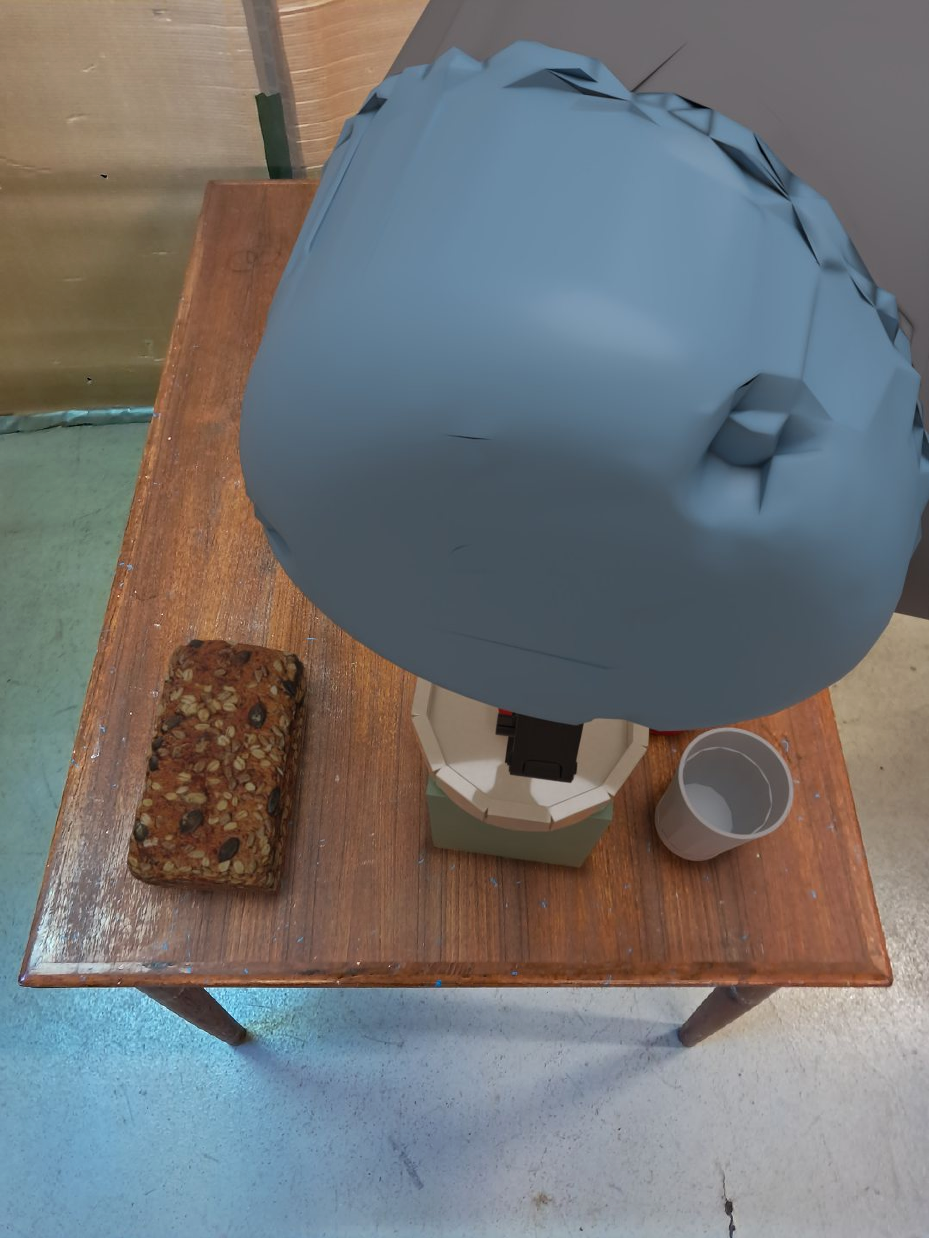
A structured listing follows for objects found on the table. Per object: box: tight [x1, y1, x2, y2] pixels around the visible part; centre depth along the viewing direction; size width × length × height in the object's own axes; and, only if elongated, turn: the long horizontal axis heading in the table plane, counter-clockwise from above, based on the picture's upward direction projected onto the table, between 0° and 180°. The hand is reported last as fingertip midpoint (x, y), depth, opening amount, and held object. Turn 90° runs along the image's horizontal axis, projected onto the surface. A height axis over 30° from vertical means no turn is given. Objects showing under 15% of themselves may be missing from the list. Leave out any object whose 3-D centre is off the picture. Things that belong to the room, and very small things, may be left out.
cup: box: [654, 726, 795, 862], centre depth 62 cm, size 8×8×12 cm
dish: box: [410, 676, 650, 832], centre depth 53 cm, size 15×15×3 cm
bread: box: [126, 638, 308, 893], centre depth 65 cm, size 19×11×10 cm, turn 176°
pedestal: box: [425, 771, 614, 869], centre depth 62 cm, size 12×12×16 cm
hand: (545, 637), depth 43 cm, fingers open, 13 cm apart
